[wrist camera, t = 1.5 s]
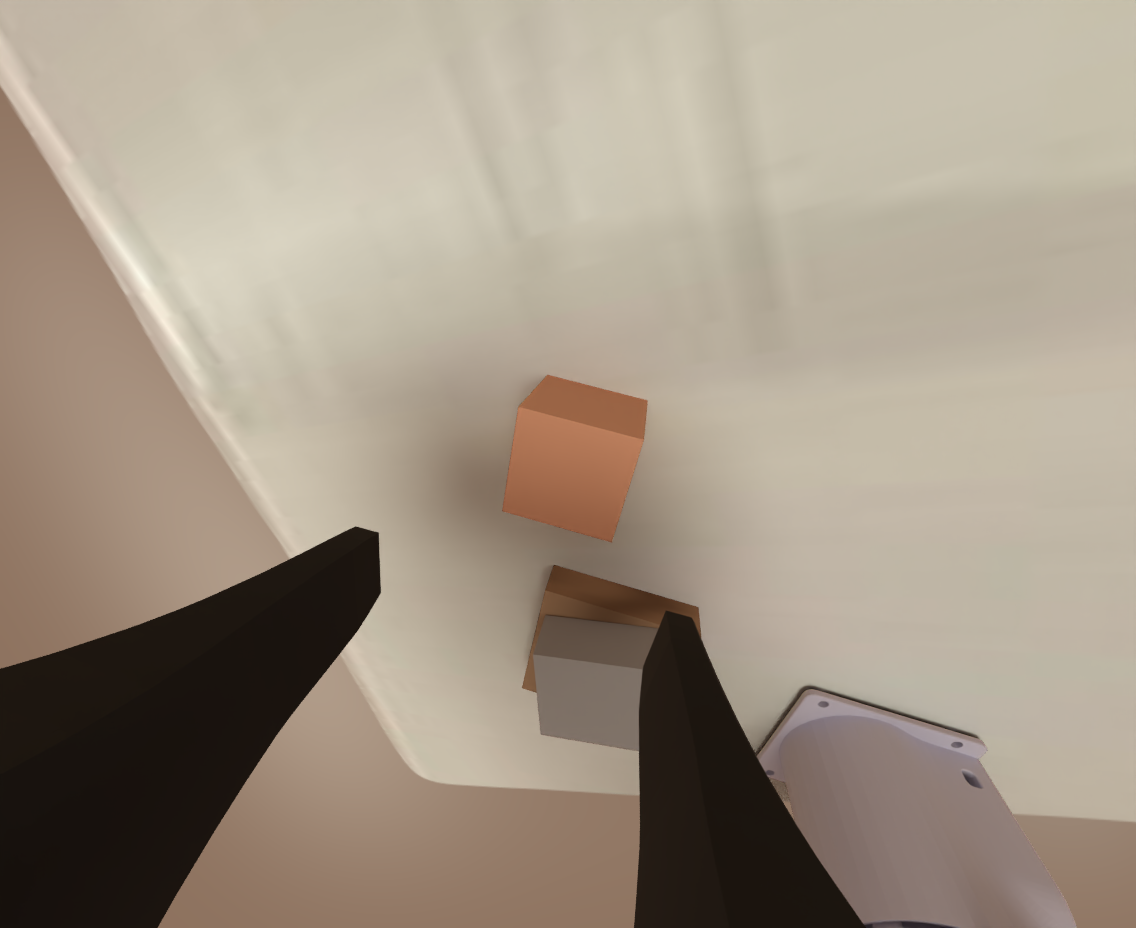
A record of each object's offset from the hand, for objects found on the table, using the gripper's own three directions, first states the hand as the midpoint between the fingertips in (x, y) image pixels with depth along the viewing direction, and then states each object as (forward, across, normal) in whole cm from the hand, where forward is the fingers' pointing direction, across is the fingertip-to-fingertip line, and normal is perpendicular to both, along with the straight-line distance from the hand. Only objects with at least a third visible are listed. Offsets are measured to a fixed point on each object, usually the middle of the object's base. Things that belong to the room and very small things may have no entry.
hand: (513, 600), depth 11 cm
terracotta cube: (+11, 0, 0) cm, 11 cm away
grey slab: (+8, -4, +12) cm, 15 cm away
